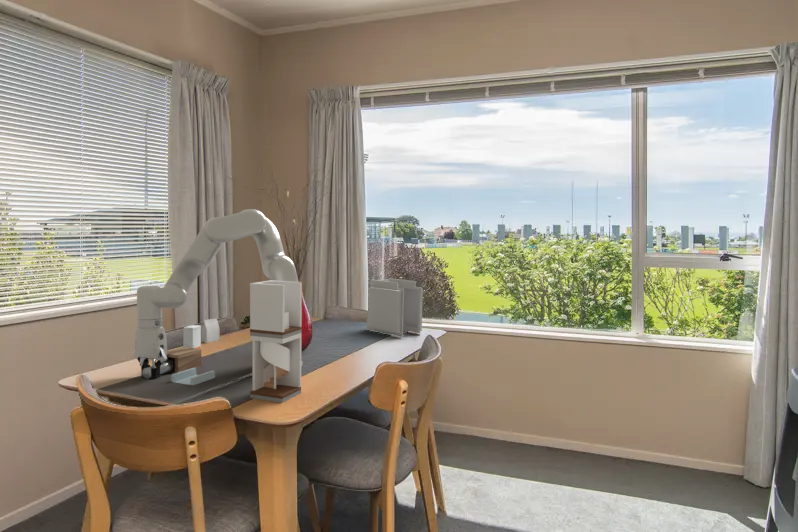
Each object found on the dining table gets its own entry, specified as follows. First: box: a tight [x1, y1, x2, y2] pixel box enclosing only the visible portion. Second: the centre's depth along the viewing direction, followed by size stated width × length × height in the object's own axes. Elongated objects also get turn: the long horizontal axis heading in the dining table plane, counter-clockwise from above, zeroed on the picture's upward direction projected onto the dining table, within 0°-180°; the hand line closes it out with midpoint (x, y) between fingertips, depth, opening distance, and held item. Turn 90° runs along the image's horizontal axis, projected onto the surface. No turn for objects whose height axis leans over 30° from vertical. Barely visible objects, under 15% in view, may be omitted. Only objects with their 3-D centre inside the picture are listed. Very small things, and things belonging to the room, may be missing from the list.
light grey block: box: [201, 318, 221, 344], centre depth 247 cm, size 4×7×10 cm, turn 146°
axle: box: [142, 359, 175, 380], centre depth 189 cm, size 17×4×4 cm, turn 157°
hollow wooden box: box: [165, 346, 202, 374], centre depth 196 cm, size 8×11×8 cm
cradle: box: [170, 367, 216, 386], centre depth 181 cm, size 9×10×4 cm
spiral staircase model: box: [249, 279, 303, 404], centre depth 170 cm, size 11×11×35 cm
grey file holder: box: [366, 277, 424, 337], centre depth 274 cm, size 17×27×26 cm, turn 44°
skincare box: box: [182, 324, 202, 350], centre depth 219 cm, size 6×4×12 cm
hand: (150, 377), depth 183 cm, fingers closed on axle, 3 cm apart
